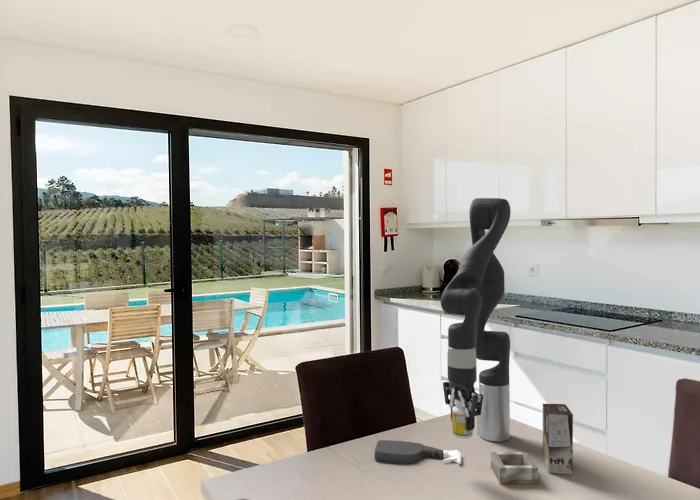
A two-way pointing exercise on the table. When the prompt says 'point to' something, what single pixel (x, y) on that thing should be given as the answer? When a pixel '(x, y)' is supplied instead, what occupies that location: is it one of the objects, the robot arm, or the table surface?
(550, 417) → the coffee box
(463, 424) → the supplement bottle
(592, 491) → the table surface
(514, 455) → the post socket
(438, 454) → the spray bottle
